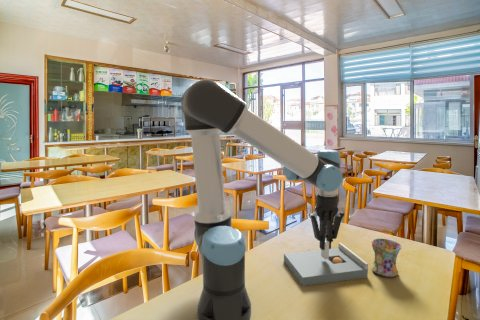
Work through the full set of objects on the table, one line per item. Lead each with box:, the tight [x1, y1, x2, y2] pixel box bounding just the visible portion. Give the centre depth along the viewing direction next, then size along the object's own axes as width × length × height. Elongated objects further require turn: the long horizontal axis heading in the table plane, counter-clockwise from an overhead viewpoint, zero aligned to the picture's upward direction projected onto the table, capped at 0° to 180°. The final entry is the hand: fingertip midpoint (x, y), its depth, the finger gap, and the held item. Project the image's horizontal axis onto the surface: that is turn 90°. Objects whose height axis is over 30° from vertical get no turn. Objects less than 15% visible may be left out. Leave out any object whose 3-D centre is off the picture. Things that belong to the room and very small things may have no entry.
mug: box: [370, 238, 402, 278], centre depth 104 cm, size 12×9×11 cm
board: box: [283, 242, 369, 287], centre depth 105 cm, size 24×17×5 cm
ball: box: [332, 257, 343, 264], centre depth 107 cm, size 4×4×4 cm
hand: (324, 257), depth 105 cm, fingers closed
